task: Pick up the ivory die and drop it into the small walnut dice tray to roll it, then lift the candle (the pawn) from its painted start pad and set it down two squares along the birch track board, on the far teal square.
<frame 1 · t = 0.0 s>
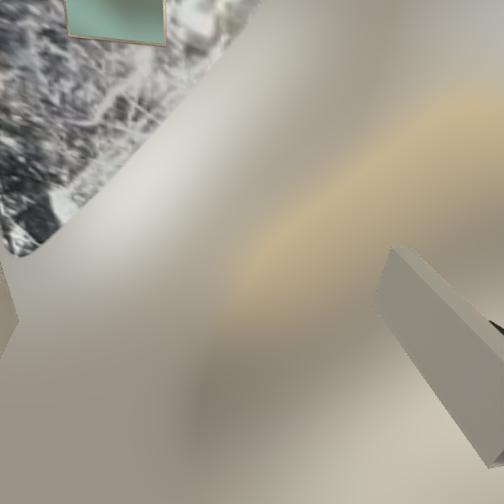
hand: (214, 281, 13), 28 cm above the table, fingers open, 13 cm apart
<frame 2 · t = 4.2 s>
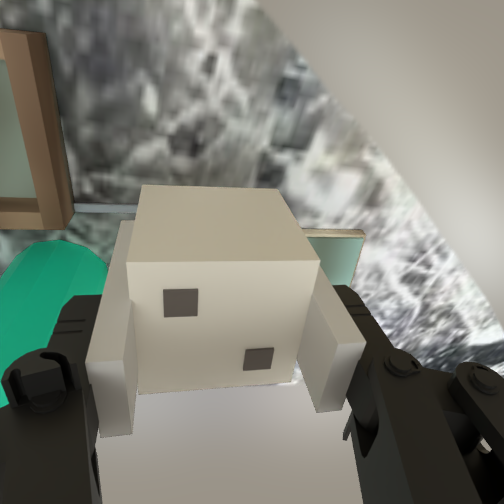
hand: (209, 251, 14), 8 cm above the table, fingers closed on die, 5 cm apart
start pad: (63, 279, 24), on the table
die: (209, 244, 15), point 8 cm above the table, touching gripper
candle: (64, 277, 24), on the table
track: (243, 277, 26), on the table
when the fingers open (6 cm above the table, at t = 5.6 s): die drops 5 cm, resting on tray.
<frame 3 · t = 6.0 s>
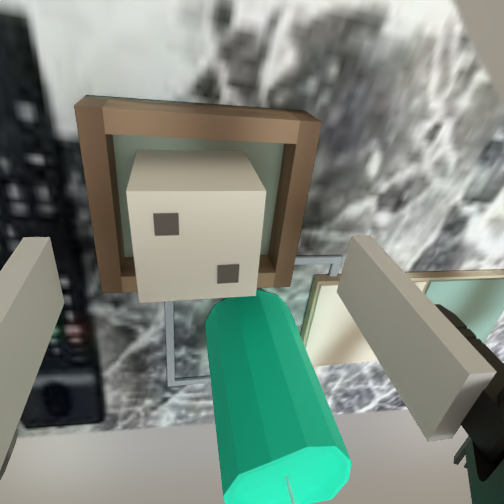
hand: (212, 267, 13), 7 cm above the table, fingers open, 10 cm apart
start pad: (248, 324, 25), on the table
die: (192, 198, 18), point 1 cm above the table, touching tray
candle: (247, 322, 25), on the table
tray: (200, 194, 19), on the table
track: (403, 315, 27), on the table
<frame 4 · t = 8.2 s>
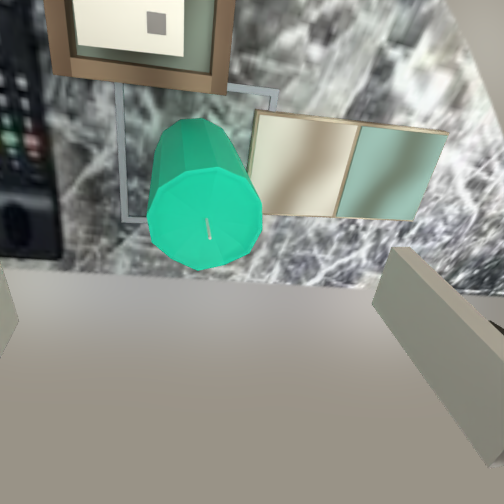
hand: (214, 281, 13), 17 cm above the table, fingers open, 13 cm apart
start pad: (195, 159, 27), on the table
candle: (195, 158, 27), on the table
track: (341, 170, 30), on the table
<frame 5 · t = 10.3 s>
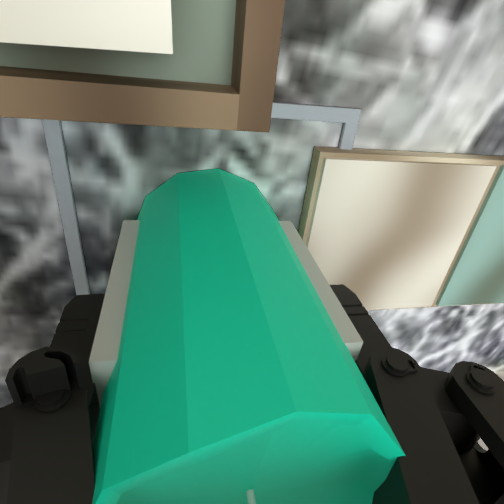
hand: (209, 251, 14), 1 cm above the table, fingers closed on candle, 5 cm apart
start pad: (207, 236, 15), on the table
candle: (207, 234, 15), on the table, touching gripper
track: (451, 235, 18), on the table
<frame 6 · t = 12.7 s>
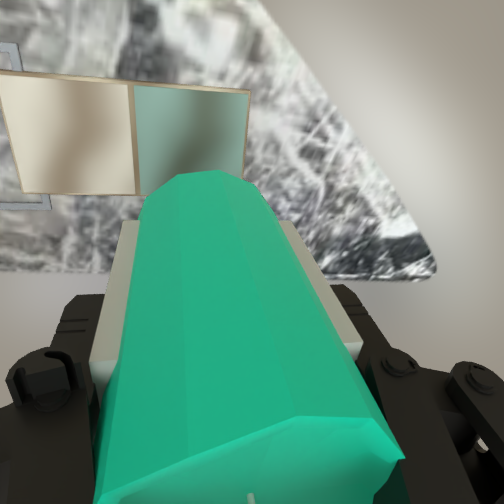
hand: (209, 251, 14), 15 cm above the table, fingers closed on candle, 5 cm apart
candle: (207, 235, 15), point 14 cm above the table, touching gripper
track: (135, 140, 26), on the table
when the fingers open (4 cm above the table, at t = 15.0 s): candle drops 1 cm, resting on track.
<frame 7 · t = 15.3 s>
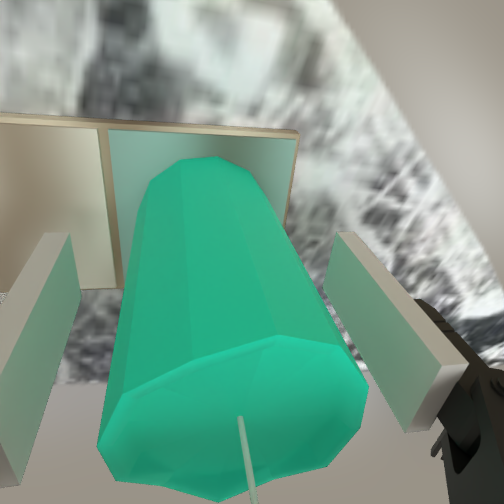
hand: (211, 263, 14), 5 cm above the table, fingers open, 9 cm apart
candle: (205, 217, 17), point 1 cm above the table, touching track
track: (115, 209, 16), on the table
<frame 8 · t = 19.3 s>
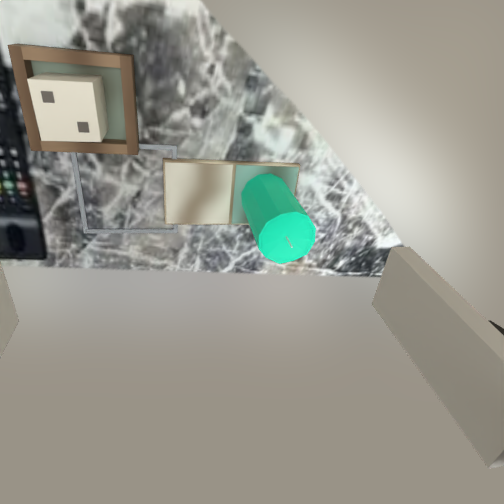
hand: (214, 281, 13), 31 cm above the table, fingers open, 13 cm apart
start pad: (128, 190, 42), on the table
die: (78, 101, 35), point 1 cm above the table, touching tray
candle: (264, 195, 44), point 1 cm above the table, touching track
tray: (84, 100, 36), on the table
track: (231, 192, 44), on the table
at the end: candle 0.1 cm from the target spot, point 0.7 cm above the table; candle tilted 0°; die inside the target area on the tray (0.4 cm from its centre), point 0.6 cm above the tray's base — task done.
